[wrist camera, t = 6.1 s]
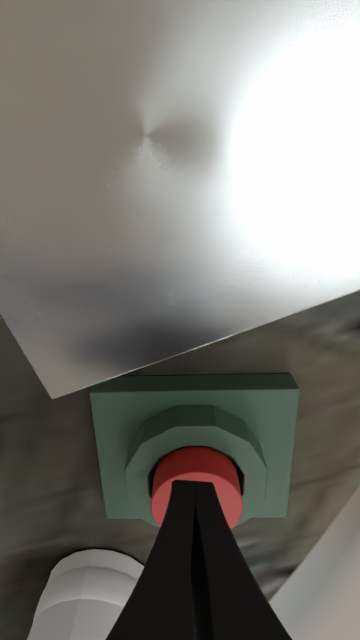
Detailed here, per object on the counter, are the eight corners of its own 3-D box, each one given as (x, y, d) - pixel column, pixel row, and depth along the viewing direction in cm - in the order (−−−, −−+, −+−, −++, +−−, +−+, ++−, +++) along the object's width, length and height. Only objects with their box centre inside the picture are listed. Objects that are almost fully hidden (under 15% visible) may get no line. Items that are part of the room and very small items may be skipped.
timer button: (156, 511, 19) (153, 541, 17) (151, 446, 17) (148, 472, 16) (236, 510, 19) (241, 541, 17) (238, 445, 17) (244, 471, 16)
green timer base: (111, 496, 23) (99, 547, 19) (96, 376, 20) (78, 413, 16) (279, 494, 22) (295, 546, 19) (290, 372, 19) (312, 409, 16)
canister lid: (316, -319, 7) (329, -372, 6) (412, 263, 11) (427, 268, 10) (-184, -19, 9) (-214, -36, 8) (58, 389, 13) (51, 400, 12)
